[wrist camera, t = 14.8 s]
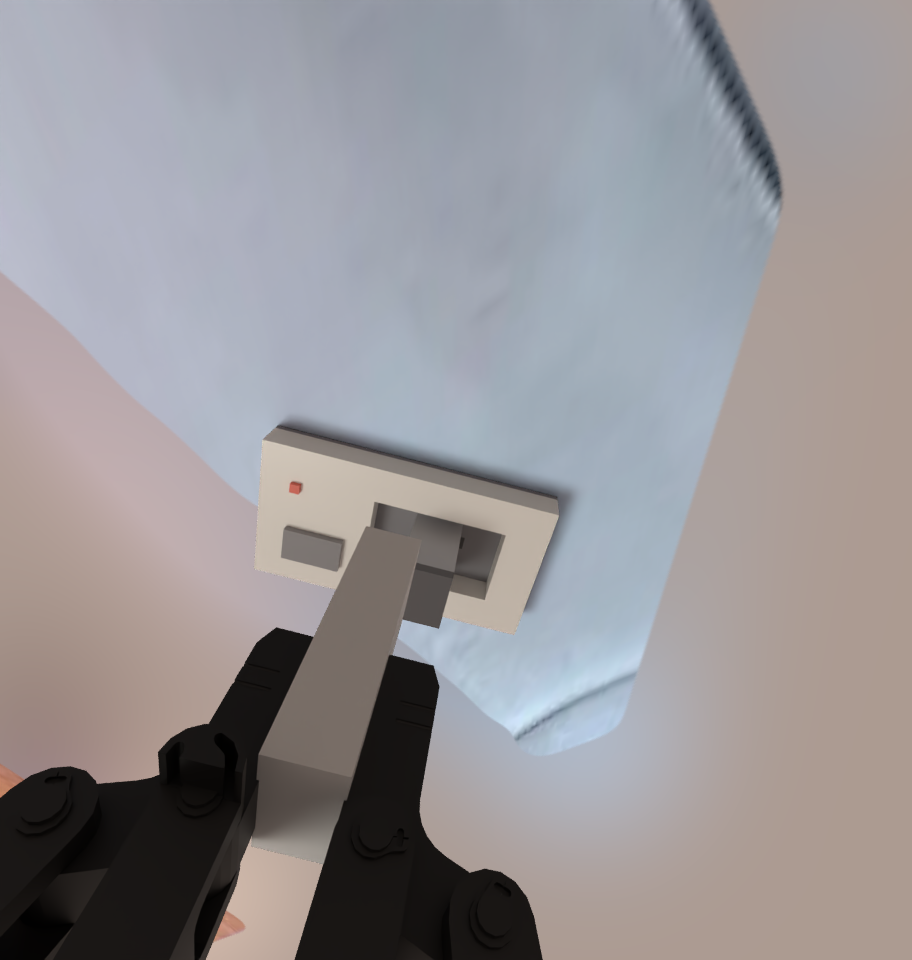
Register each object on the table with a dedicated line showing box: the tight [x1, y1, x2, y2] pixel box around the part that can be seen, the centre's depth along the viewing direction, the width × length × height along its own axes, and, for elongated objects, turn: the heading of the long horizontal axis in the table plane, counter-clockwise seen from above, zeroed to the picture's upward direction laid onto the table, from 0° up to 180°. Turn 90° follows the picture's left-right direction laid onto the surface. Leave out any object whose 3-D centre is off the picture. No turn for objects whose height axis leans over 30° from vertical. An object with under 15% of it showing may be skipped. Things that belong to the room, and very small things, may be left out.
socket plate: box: [254, 426, 559, 635], centre depth 47 cm, size 13×24×4 cm, turn 77°
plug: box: [403, 513, 463, 628], centre depth 45 cm, size 5×4×8 cm
